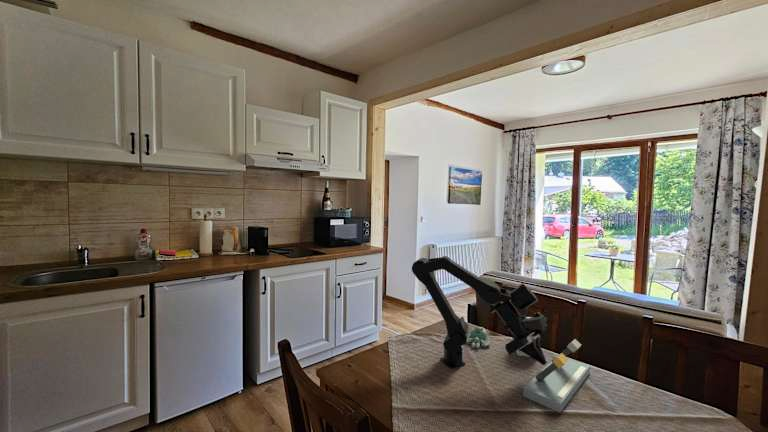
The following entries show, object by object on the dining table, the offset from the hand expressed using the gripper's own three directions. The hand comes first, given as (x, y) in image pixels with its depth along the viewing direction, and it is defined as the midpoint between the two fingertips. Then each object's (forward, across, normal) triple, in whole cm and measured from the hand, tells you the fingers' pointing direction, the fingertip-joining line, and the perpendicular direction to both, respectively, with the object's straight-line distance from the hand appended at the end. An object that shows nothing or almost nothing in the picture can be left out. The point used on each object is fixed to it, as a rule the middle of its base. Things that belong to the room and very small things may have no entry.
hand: (545, 364), depth 97 cm
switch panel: (+7, +7, +4) cm, 11 cm away
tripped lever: (+2, 0, +4) cm, 4 cm away
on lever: (+2, +14, +4) cm, 15 cm away
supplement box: (-4, +21, +16) cm, 26 cm away
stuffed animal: (-15, +13, +27) cm, 34 cm away
